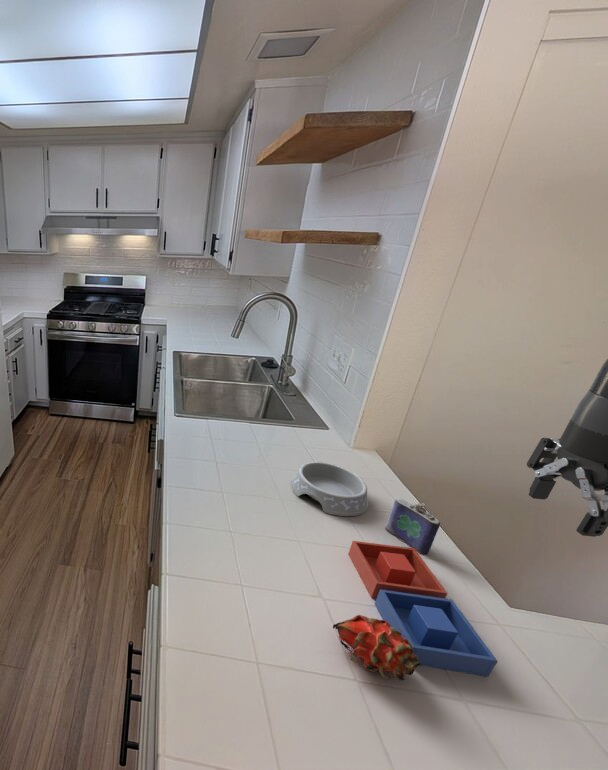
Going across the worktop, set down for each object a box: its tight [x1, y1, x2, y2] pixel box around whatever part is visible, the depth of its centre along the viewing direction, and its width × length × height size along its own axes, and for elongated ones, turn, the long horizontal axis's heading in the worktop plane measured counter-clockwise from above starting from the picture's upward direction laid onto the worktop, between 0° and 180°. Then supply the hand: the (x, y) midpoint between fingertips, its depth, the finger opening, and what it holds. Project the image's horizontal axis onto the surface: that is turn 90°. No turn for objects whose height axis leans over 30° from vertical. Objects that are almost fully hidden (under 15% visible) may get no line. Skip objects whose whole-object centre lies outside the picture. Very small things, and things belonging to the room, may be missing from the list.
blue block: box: [406, 605, 458, 650], centre depth 68 cm, size 4×4×4 cm
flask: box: [384, 498, 441, 556], centre depth 88 cm, size 9×3×11 cm, turn 21°
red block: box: [375, 552, 416, 586], centre depth 79 cm, size 4×4×4 cm
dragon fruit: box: [332, 614, 421, 681], centre depth 65 cm, size 8×8×12 cm
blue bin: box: [374, 589, 498, 678], centre depth 68 cm, size 12×11×4 cm
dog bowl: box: [290, 461, 368, 517], centre depth 105 cm, size 17×18×5 cm
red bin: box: [347, 540, 448, 599], centre depth 80 cm, size 12×11×4 cm
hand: (559, 514), depth 61 cm, fingers open, 8 cm apart
